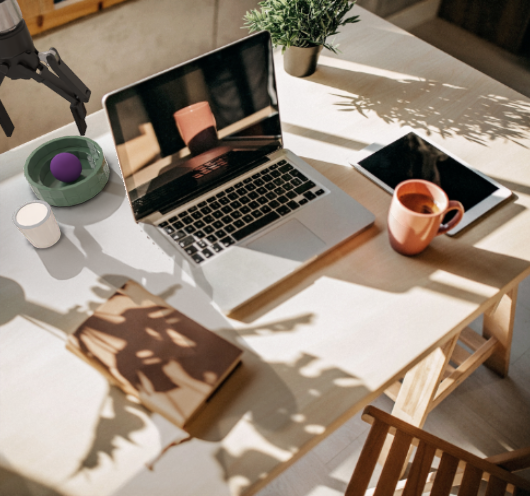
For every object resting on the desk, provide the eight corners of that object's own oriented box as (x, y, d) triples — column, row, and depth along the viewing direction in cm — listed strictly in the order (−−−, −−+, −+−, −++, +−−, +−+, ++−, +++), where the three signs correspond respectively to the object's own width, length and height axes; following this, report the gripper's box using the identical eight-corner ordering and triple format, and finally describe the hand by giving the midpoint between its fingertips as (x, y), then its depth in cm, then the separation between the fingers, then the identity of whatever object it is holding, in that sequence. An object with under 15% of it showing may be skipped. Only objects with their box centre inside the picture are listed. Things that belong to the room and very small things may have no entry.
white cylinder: (55, 253, 92) (41, 230, 86) (21, 249, 93) (4, 226, 87) (70, 225, 96) (57, 201, 90) (36, 221, 97) (22, 197, 91)
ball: (54, 189, 101) (42, 168, 96) (60, 168, 105) (49, 147, 100) (83, 187, 101) (72, 166, 96) (88, 167, 104) (78, 145, 100)
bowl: (25, 209, 99) (14, 191, 94) (43, 154, 108) (34, 136, 104) (103, 207, 99) (95, 189, 94) (115, 152, 108) (108, 134, 104)
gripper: (-94, 38, 73) (-27, 146, 90) (75, 35, 73) (111, 144, 91) (-75, 11, 77) (-14, 119, 95) (85, 9, 78) (117, 117, 95)
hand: (47, 131), depth 93 cm, fingers open, 13 cm apart
